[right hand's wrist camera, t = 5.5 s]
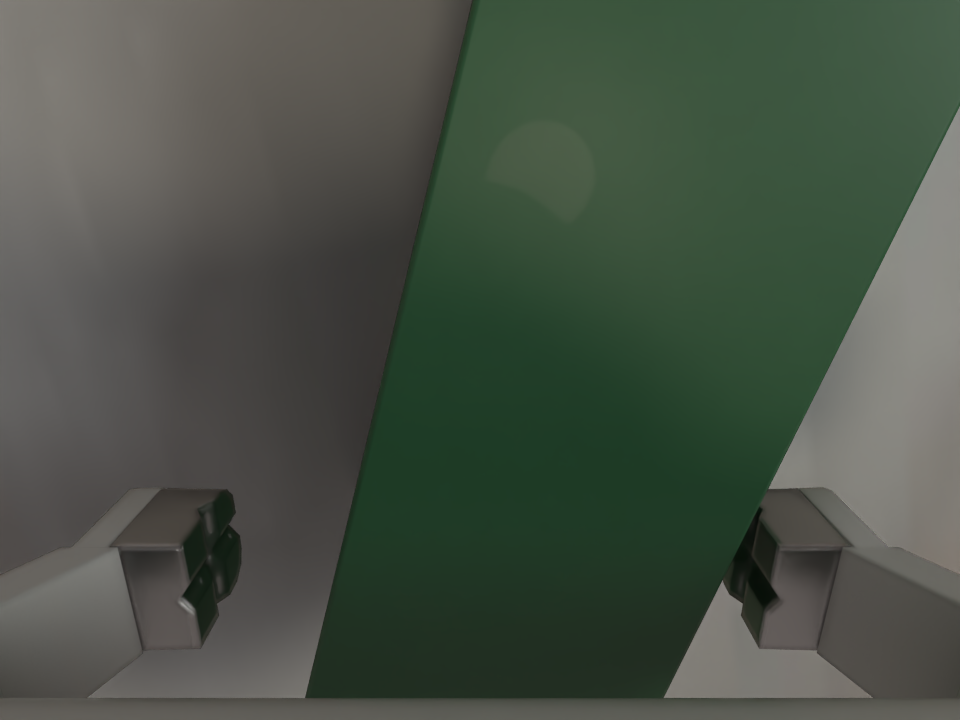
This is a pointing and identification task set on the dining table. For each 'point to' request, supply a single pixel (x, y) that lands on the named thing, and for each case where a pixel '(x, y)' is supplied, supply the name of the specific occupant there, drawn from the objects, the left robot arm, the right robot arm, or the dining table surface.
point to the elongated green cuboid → (618, 328)
